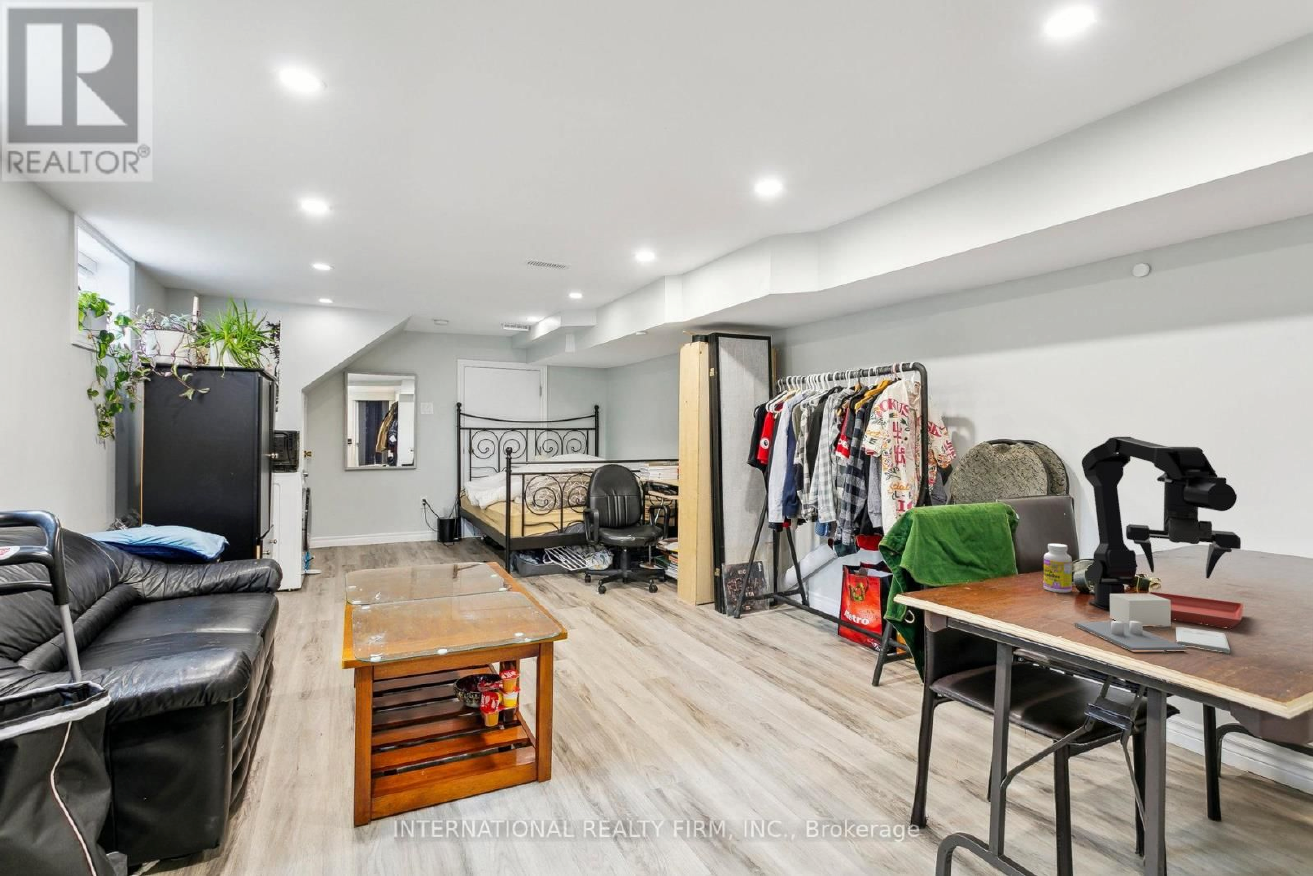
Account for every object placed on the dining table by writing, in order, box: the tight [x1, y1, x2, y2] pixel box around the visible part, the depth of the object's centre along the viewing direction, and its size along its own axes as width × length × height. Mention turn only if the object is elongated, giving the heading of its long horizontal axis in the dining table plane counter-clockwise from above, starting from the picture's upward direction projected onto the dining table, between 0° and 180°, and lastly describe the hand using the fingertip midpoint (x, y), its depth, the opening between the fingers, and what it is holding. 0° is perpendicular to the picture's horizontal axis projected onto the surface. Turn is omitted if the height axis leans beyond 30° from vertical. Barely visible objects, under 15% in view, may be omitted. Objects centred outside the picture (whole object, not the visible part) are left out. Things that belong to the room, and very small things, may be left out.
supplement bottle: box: [1043, 543, 1073, 594], centre depth 174 cm, size 7×7×13 cm
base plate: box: [1074, 620, 1187, 651], centre depth 133 cm, size 17×11×4 cm, turn 0°
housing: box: [1109, 592, 1172, 627], centre depth 144 cm, size 10×6×6 cm, turn 90°
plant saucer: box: [1147, 591, 1244, 629], centre depth 149 cm, size 18×18×3 cm
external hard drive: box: [1175, 626, 1231, 654], centre depth 131 cm, size 2×8×12 cm
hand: (1179, 575), depth 135 cm, fingers open, 9 cm apart
